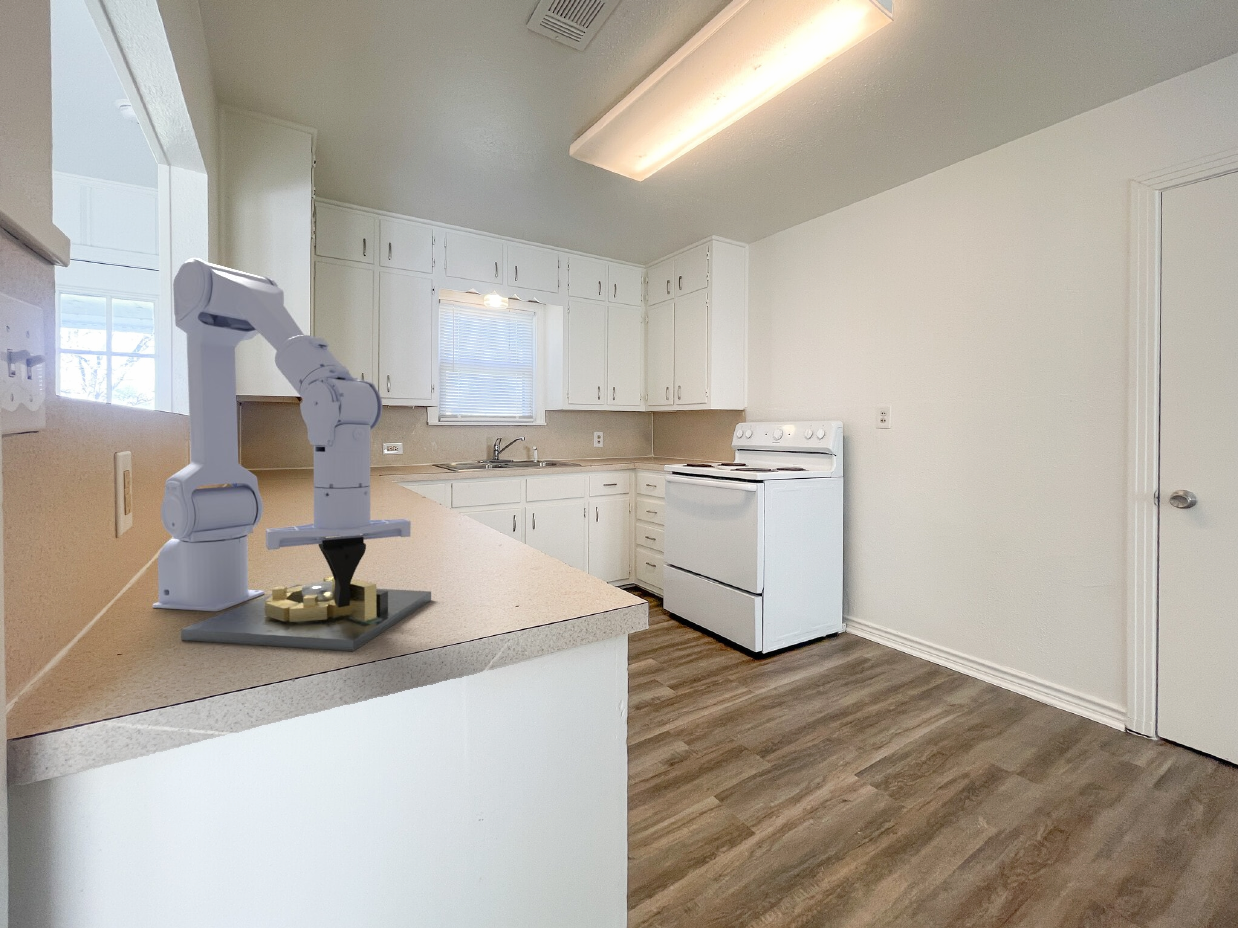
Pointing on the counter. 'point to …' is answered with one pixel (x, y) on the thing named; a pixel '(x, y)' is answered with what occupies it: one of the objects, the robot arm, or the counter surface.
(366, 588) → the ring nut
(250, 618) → the dark gray base plate
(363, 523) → the robot arm
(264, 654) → the counter surface
